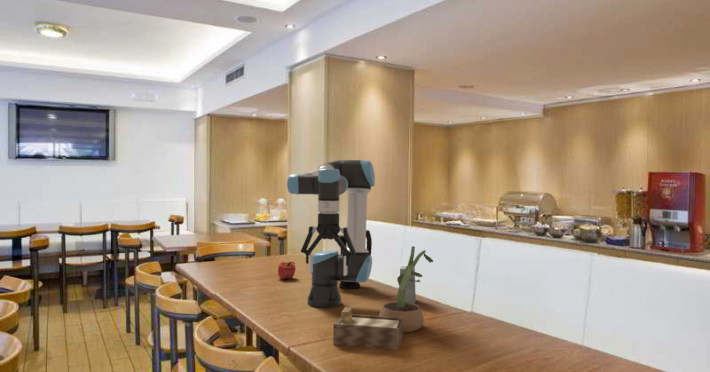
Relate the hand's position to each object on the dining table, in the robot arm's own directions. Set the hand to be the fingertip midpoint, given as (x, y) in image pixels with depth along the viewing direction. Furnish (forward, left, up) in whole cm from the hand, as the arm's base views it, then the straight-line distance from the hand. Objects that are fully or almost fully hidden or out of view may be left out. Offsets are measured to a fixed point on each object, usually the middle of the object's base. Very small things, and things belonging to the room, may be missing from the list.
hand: (327, 274), depth 169 cm
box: (+15, 0, -22) cm, 27 cm away
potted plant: (+26, +21, -23) cm, 40 cm away
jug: (-8, +78, -23) cm, 82 cm away
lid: (+15, 0, -17) cm, 23 cm away
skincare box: (+23, +57, -23) cm, 65 cm away
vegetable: (-47, +89, -23) cm, 103 cm away
